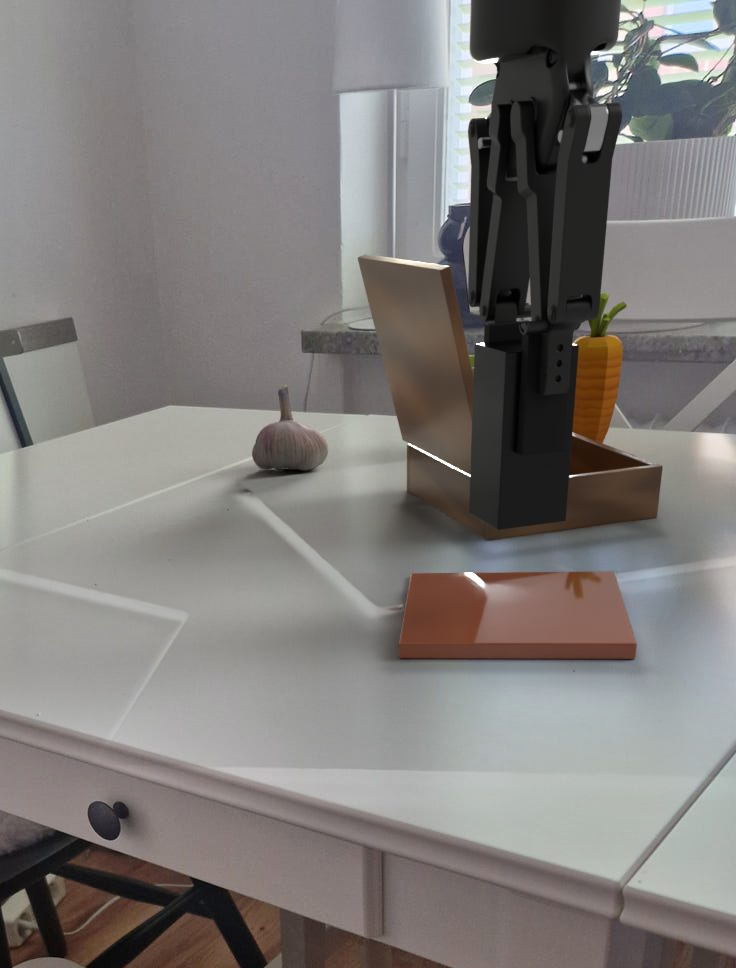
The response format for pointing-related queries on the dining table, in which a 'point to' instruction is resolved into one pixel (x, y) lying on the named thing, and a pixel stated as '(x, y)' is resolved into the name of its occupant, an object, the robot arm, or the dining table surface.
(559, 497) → the black block
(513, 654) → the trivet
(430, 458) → the wooden box
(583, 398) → the carrot
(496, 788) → the dining table surface
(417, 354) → the lid
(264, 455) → the garlic bulb
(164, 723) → the dining table surface
